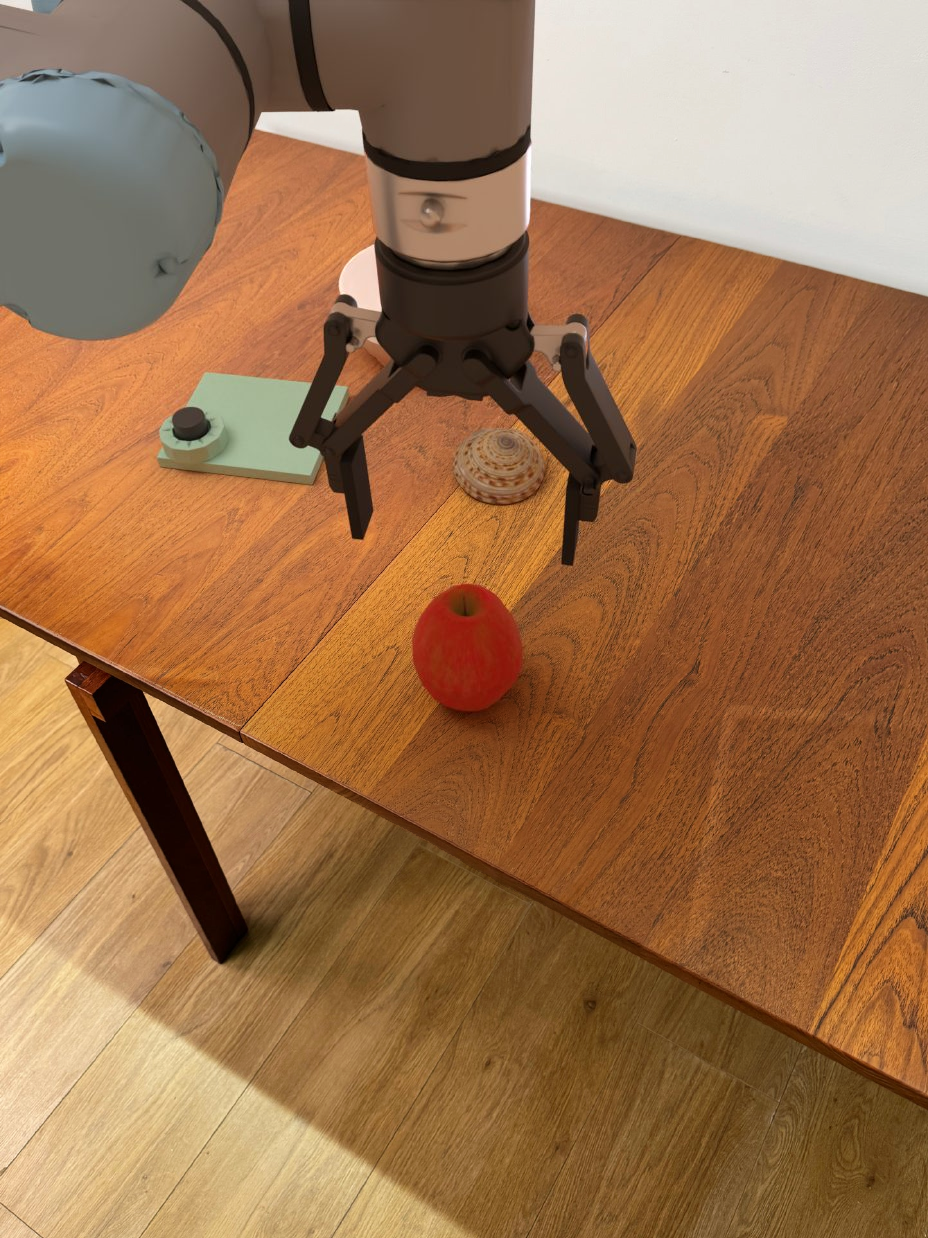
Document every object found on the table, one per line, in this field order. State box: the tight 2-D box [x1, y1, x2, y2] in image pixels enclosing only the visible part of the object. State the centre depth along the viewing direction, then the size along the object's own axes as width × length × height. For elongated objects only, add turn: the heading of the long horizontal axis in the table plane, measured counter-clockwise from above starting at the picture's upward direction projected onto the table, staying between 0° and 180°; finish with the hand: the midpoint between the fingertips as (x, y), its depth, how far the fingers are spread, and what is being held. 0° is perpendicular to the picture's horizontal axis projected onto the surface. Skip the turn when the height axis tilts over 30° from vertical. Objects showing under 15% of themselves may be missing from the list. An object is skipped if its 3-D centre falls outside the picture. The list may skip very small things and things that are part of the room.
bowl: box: [338, 243, 391, 367], centre depth 102 cm, size 16×16×8 cm
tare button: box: [171, 406, 208, 442], centre depth 92 cm, size 3×3×2 cm
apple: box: [411, 582, 524, 712], centre depth 73 cm, size 8×8×11 cm
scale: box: [156, 371, 350, 486], centre depth 95 cm, size 15×13×3 cm
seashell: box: [452, 427, 545, 505], centre depth 91 cm, size 8×6×8 cm
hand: (464, 537), depth 64 cm, fingers open, 13 cm apart
